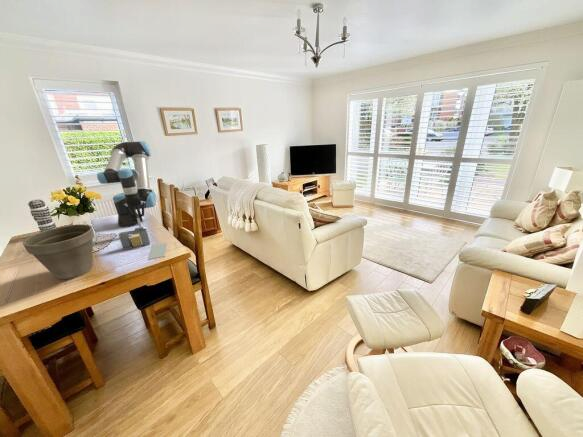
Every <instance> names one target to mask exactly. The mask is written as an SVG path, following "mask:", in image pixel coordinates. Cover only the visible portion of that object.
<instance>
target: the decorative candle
mask: <svg viewBox="0 0 583 437" xmlns="http://www.w3.org/2000/svg"><path fill="white" fill-rule="evenodd" d="M27 205H28V207H29V209H30V210H29V212H30V215H31V217H33V220H34V221H35V222H36V224H37V226H38V227H37V228H38V229H39V231H40V233H41V232H44V231H47V230H50V229H54V228H57V225H56V223H55V222H54V220H53V219H52V218H53V216H52V217H50V216H51V215H50V214H51V211H50V209H49V206H47V205H46V203H45V201H44V200H43V199H33V200H30V201H28V203H27Z"/></svg>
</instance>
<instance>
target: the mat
mask: <svg viewBox="0 0 583 437" xmlns="http://www.w3.org/2000/svg"><path fill="white" fill-rule="evenodd" d="M167 244H168V243H167V242H161V243H157V244H152V246H151V250H150V253H149V256H148V261H150V260H155V259H159V258H164V257H165V256H166V252H167Z"/></svg>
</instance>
